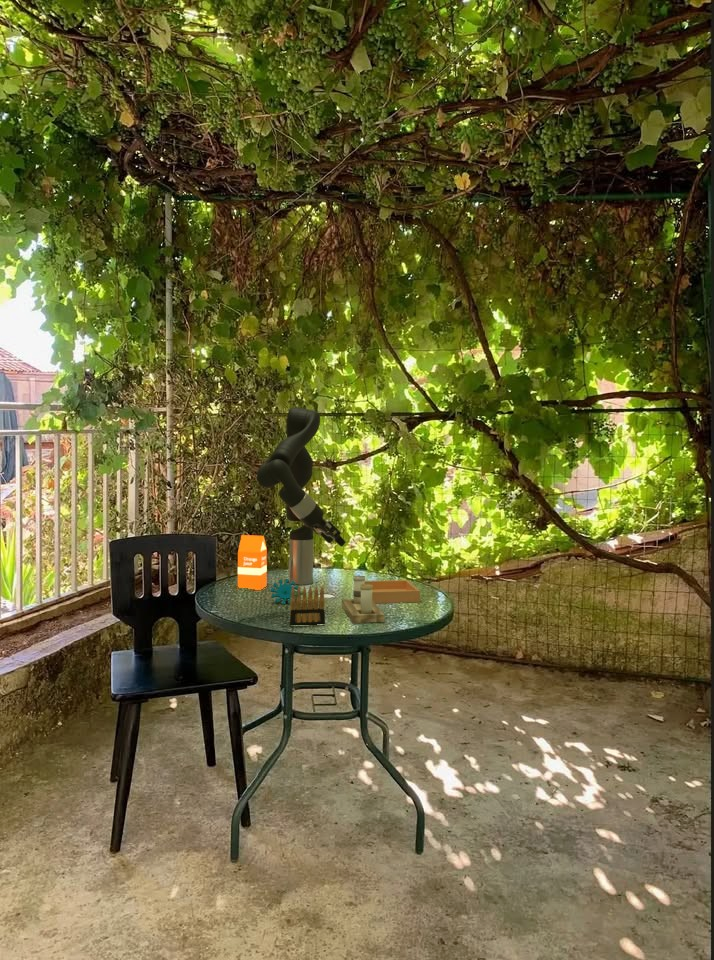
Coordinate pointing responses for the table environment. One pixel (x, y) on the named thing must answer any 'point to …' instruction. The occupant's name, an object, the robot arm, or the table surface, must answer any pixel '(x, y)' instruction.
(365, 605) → the fuse
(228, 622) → the table surface
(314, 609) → the ammunition clip
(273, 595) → the gear
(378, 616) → the fuse block
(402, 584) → the parts tray
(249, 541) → the orange juice
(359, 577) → the white domed cylinder
